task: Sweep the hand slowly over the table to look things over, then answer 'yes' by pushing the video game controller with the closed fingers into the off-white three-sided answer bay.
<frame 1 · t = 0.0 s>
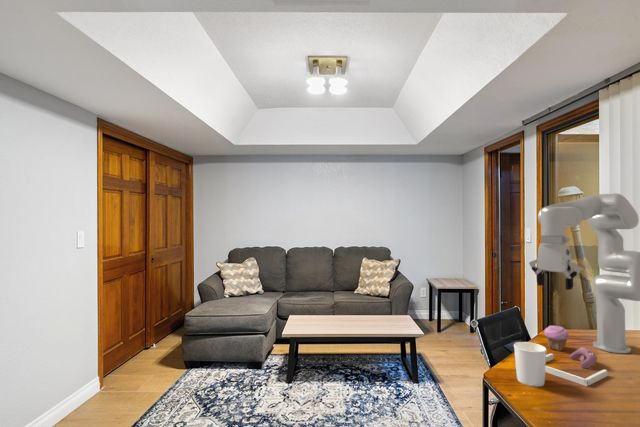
hand: (554, 287, 131), 31 cm above the table, tool pointing down, fingers open, 9 cm apart
candle holder: (530, 381, 123), on the table
answer bay: (567, 370, 131), on the table
video game controller: (583, 364, 137), on the table
cupcake: (556, 349, 153), on the table
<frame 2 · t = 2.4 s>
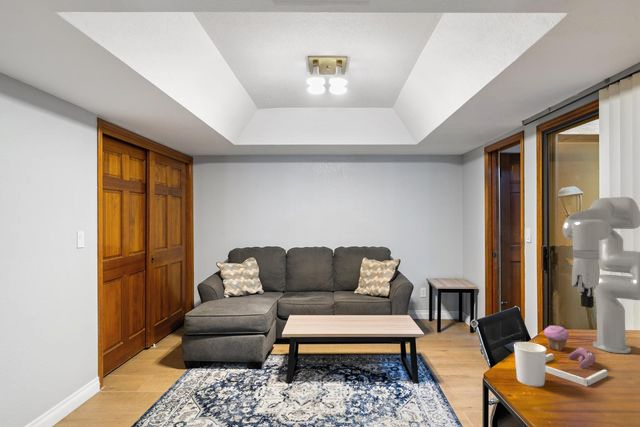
hand: (587, 306, 126), 25 cm above the table, tool pointing down, fingers closed
nothing on the table moved.
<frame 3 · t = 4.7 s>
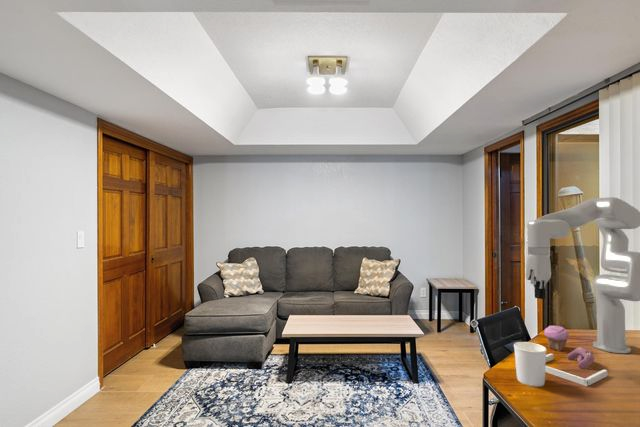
hand: (539, 298, 140), 25 cm above the table, tool pointing down, fingers closed
nothing on the table moved.
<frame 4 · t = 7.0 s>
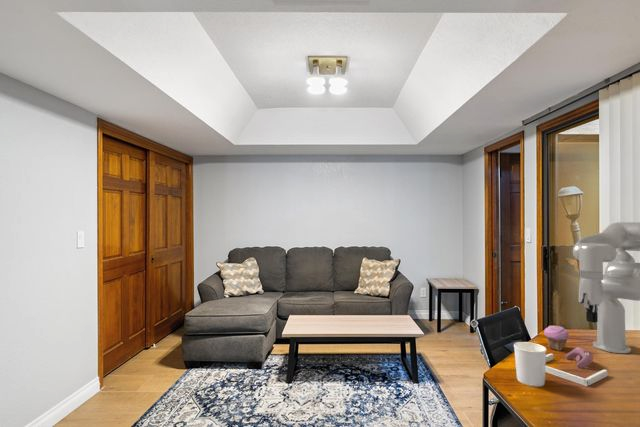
hand: (592, 321, 141), 15 cm above the table, tool pointing down, fingers closed
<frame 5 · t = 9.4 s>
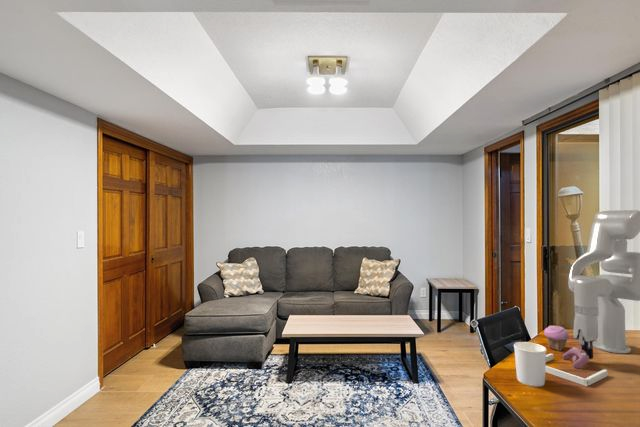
hand: (587, 357, 139), 2 cm above the table, tool pointing down, fingers closed
video game controller: (576, 364, 138), on the table
everything else where it was.
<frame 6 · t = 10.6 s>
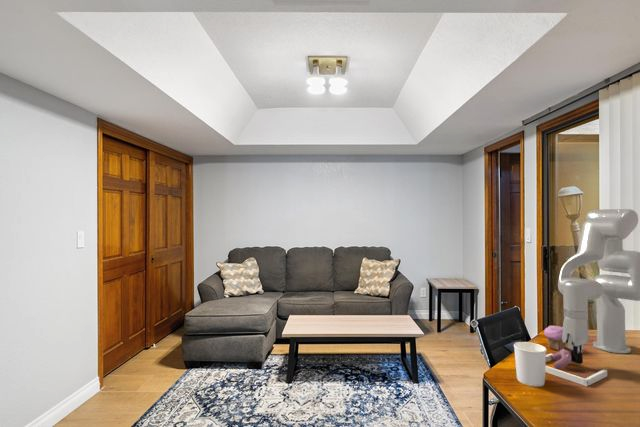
hand: (576, 362, 135), 2 cm above the table, tool pointing down, fingers closed
video game controller: (561, 365, 136), on the table, touching gripper
everything else where it was.
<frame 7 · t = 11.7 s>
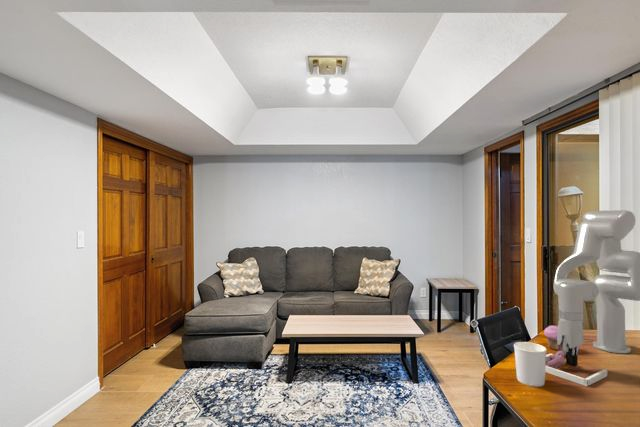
hand: (571, 364, 133), 2 cm above the table, tool pointing down, fingers closed
video game controller: (557, 366, 136), on the table, touching answer bay, gripper
everything else where it was.
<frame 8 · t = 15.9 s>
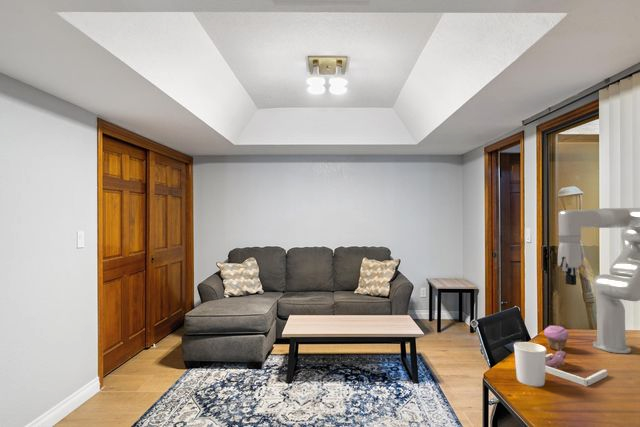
hand: (570, 284, 147), 29 cm above the table, tool pointing down, fingers closed
video game controller: (556, 366, 136), on the table
everything else where it was.
at the end: video game controller inside the target area on the answer bay (5.3 cm from its centre), point 0.0 cm above the answer bay's base; video game controller tilted 0°; video game controller moved 11.5 cm from its start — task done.
